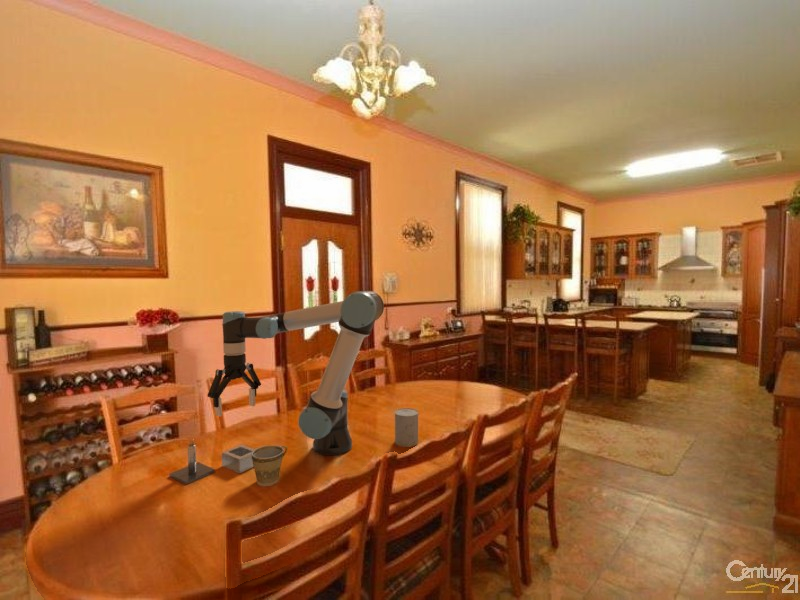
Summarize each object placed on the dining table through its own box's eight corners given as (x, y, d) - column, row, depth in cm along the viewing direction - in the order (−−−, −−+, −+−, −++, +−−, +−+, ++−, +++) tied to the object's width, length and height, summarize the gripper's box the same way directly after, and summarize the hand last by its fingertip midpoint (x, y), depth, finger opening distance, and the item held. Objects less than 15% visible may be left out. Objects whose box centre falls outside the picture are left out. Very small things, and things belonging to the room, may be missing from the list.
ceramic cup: (266, 492, 124) (265, 461, 123) (245, 483, 129) (244, 453, 128) (297, 475, 135) (297, 446, 134) (277, 467, 140) (276, 439, 139)
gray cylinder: (421, 439, 164) (421, 410, 164) (412, 448, 156) (412, 417, 155) (400, 435, 168) (400, 407, 168) (390, 444, 160) (390, 414, 159)
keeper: (214, 472, 137) (214, 437, 136) (185, 484, 128) (184, 448, 127) (198, 464, 142) (197, 431, 141) (169, 476, 134) (168, 441, 133)
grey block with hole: (259, 464, 142) (259, 450, 142) (239, 473, 136) (239, 459, 135) (241, 457, 148) (241, 444, 147) (222, 466, 141) (221, 452, 141)
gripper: (257, 347, 159) (258, 400, 160) (195, 358, 139) (197, 418, 140) (269, 349, 155) (270, 403, 156) (207, 360, 134) (209, 422, 136)
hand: (236, 410), depth 148 cm, fingers open, 13 cm apart
